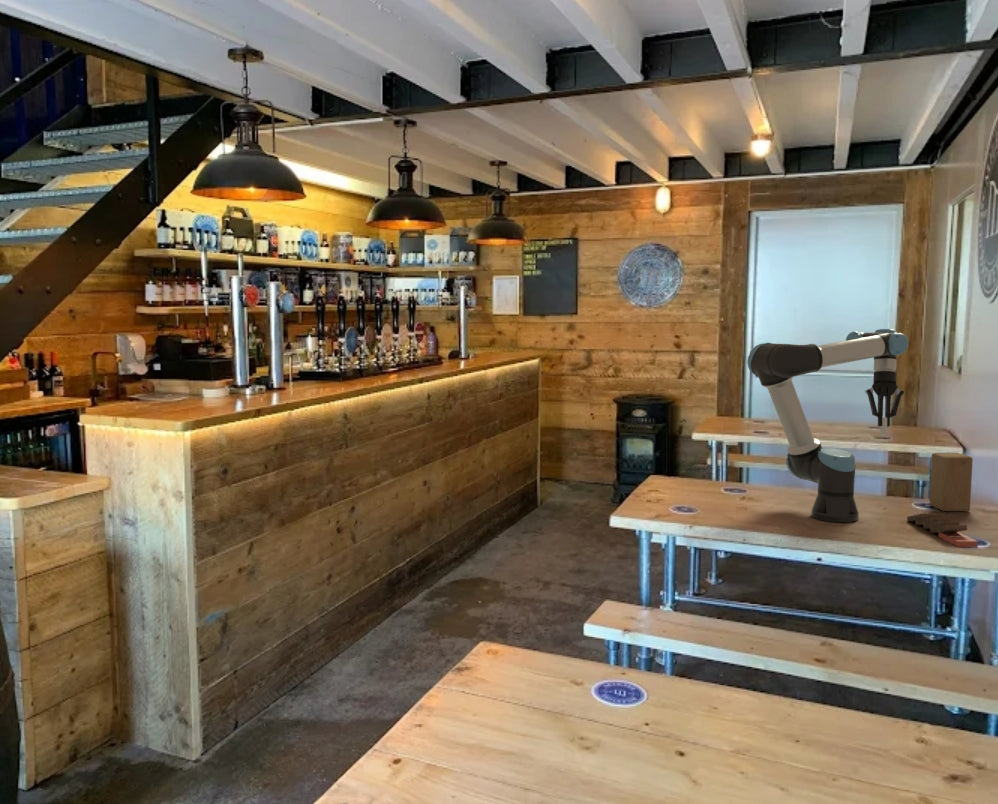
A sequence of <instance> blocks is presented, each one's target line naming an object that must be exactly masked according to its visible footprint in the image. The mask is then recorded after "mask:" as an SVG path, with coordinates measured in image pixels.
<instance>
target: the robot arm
mask: <svg viewBox="0 0 998 804" xmlns="http://www.w3.org/2000/svg"><path fill="white" fill-rule="evenodd" d="M908 347H909V340H908V337H907V336H906V334H904V333H901V332H897V331H896V330H895V329H892V328H879V329H876V330H875V331H874V332H864V331H860V330H859V331H851V332H849V333H848V334H847V336H846V338H845V340H842V341H837V342H831V343H825V344H821V345H817V344H815V343H808V344H791V343H772V342H765V343H764V342H763V343H759V344H757V345H755V346H753V348H752V349H751V350H750V352H749V354H748V356H747V362H746V363H747V368H748V370H749V371H750V372H751V373H752V374H753V375H755V376H757V377H758V380H759V381H760V384H761V386H762V387H764V388H766V389H767V390H768V391H767V392H768V393H769V395H770V398H771V401H772V403H773V406H774V408H775V411H776V414H777V416H778V420H779V422H780V424H781V426H782V429H783V432H784V434H785V437H786V440H787V443H788V447H787V450H786V451H787V454H786V459H785V465H786V468H787V469H788V471H789V472H790V474H791V475H792V476H795V477H796V478H799V480H800V479H801V480H805V481H809V482H812V483H816V484H817V496H816V498H815V500H814V503H813V505H812V508H811V517H812V516H813V517H812V518H814V519H816V520H819V519H820V521H823V520H824V522H829V521H830V522H831V523H841V522H846V523H854V522H853V521H855V522H857V521H859V519H860V516H859V515H860V514H859V510H858V506H857V503H856V500H855V482H856V481H855V479H856V458H855V456H854V455H853V453H851V452H849V451H846V450H843V449H837V448H831V447H830V448H827V447H826V448H823V446H822V444H821V442H820V439H818V438H815V437H814V436H813V433H812V430H811V428H810V426H809V425H810V424H809V423H808V420H807V416H806V414H805V412H804V409H803V406H802V404H801V401H800V398H799V396H798V393H797V391H796V388H795V386H794V383H793V380H792V379H793V378H794V377H799V376H802V375H807V374H812V373H815V372H816V373H817V372H819V371H820V370H821V369H822V368H826V367H831V366H835V365H836V366H837V365H841V364H847V363H852V362H857V361H861V360H862V361H863V360H866V359H872V358H873V371H874V372H873V380H872V381H873V383H872V385H871V387H870V388H868V389H866V390H864V392H865V393H866V395H867V397H868V402H869V405H870V410H871V411H870V412H871V414H872V416H874V417H877V426H878V427H880V428H879V429H880V434H879V435H880V437H881V436H882V437H885V436H887V435H888V427H890V425H891V418H893V417H895V416H896V415H897V412H898V409H899V405H900V402H901V397H902V396H903V395H904V394H905V391H904V390H901V389H899V388H898V385H897V372H896V371H897V357H898V356H899V355H903V354H904V353H906V351H907V350H908ZM897 355H898V356H897ZM874 393H875V395H877V406H876V402H875V401H876V400H875V396H874ZM894 394H895V397H894V401H893V404H892V402H891V401H892V396H893V395H894ZM884 399H885V400H884ZM884 403H885V404H884ZM884 405H885V407H884ZM884 412H885V413H884ZM883 415H884V417H883Z"/></svg>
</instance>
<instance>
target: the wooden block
mask: <svg viewBox="0 0 998 804" xmlns="http://www.w3.org/2000/svg"><path fill="white" fill-rule="evenodd" d="M973 459H974V458H973V457H972V456H970V455H967V454H963V453H959V452H933V453H932V454H931V461H930V462H931V464H930V465H931V467H930V485H929V506H930V505H931V507H932V506H933V508H935V509H937V510H939V509H940V510H939V511H941V510H942V511H941V512H944V511H967V512H969V511H971V499H972V498H971V497H972V495H971V494H972V481H973V480H972V478H973V477H972V476H973Z"/></svg>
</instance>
